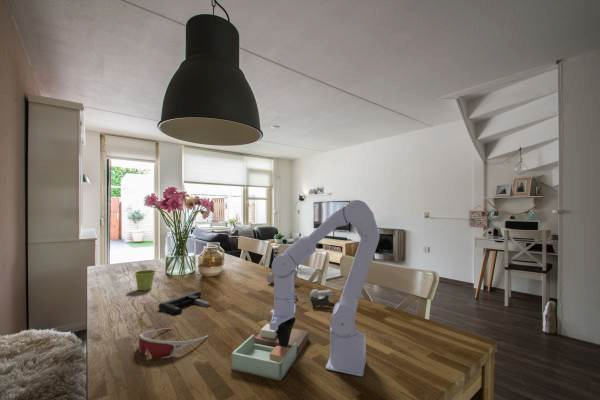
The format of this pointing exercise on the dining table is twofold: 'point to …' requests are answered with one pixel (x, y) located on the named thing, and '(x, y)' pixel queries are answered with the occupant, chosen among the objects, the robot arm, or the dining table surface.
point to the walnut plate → (295, 336)
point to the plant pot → (144, 279)
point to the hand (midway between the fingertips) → (283, 345)
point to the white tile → (268, 332)
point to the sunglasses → (162, 345)
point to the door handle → (182, 303)
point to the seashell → (271, 276)
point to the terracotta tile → (278, 353)
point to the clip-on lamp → (318, 297)
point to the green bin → (261, 360)
